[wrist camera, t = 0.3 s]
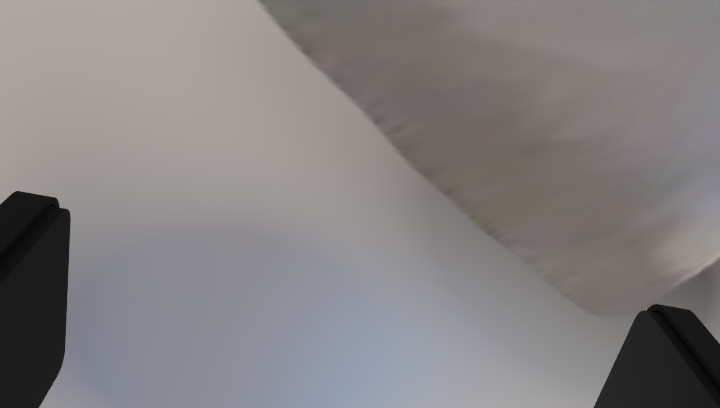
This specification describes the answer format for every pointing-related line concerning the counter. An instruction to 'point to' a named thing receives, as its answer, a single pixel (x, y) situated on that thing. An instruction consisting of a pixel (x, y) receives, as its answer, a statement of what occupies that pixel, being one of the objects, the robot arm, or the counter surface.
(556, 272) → the counter surface
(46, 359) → the robot arm
